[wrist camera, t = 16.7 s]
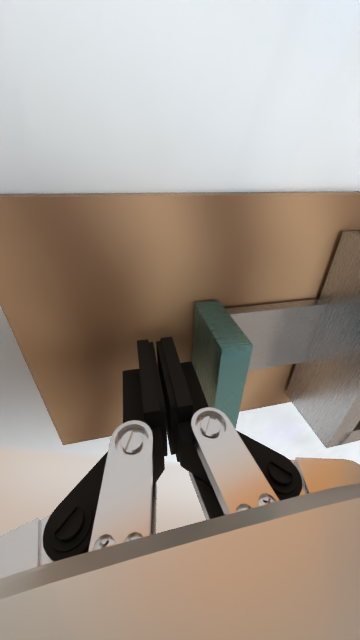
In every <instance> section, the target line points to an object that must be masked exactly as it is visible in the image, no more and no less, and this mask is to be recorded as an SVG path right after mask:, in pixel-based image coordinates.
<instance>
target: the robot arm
mask: <svg viewBox="0 0 360 640" xmlns="http://www.w3.org/2000/svg"><path fill="white" fill-rule="evenodd" d="M156 345H157V360H156V355H155V349H154V344H153V342H149V341H148V339H146V340H137V350H138V360H139V369H132V370H125V371H123V424H121V425H120V426H119V427H118V428H116V430H115V431H114V433H113V434H112V437H111V440H110V444H109V449H108V452H107V453H106V454H105V455H104V456H103V457H102V458H101V459H100V461H99V462H98V463H97V464H96V465H95V466H94V467H93V468H92V469H91V470H90V471H89V473H88V474H87V475H86V476H85V477H84V478H83V479H82V480H81V481H80V482H79V484H78V485H77V486H76V487H75V488H74V489H73V490H72V491H71V492H70V493H69V494H68V496H67V497H66V498H65V499H64V500H63V501H62V502H61V503H60V504H59V505H58V507H57V508H56V509H55V510H54V512H53V513H52V514H51V515H49V516H47V517H45V518H43V519H41V520H40V519H39V518H36V519H34V520H32V521H30V522H28V523H26V524H24V525H22V526H20V527H18V528H16V529H13V530H11V531H9V532H7V533H5V534H3V535H1V536H0V640H360V465H359V464H357V463H355V462H353V461H350V460H345V459H321V458H296V459H295V460H289V459H287V458H286V457H285V456H283V455H281V454H279V453H277V452H275V451H274V450H272V449H270V448H268V447H266V446H264V445H262V444H260V443H259V442H257V441H255V440H253V439H251V438H249V437H247V436H246V435H244V434H242V433H240V432H238V431H236V430H235V428H234V426H233V425H232V423H231V422H230V420H229V418H228V417H227V416H226V415H225V413H223V412H222V411H220V410H218V409H216V408H210V407H209V406H208V404H207V401H206V398H205V396H204V393H203V390H202V388H201V385H200V382H199V380H198V377H197V374H196V372H195V369H194V366H193V364H192V362H183V363H180V360H179V357H178V354H177V351H176V347H175V344H174V341H173V338H172V337H163V338H160V341H156ZM157 364H158V365H157ZM167 435H168V440H169V446H170V451H171V455H173V454H176V457H177V462H180V465H181V466H182V467H183V468H185V469H186V470H188V471H189V475H190V477H191V481H192V483H193V486H194V488H195V491H196V494H197V497H198V499H199V502H200V504H201V507H202V510H203V512H204V515H205V518H206V521H202V522H198V523H194V524H191V525H187V526H183V527H179V528H176V529H172V530H168V531H164V532H161V533H157V534H156V500H157V498H156V497H157V480H158V478H159V477H160V475H161V474H162V472H163V471H164V469H165V468H164V456H167Z"/></svg>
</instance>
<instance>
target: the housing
mask: <svg viewBox="0 0 360 640" xmlns="http://www.w3.org/2000/svg"><path fill="white" fill-rule="evenodd" d="M192 364H193V366H194V369H195V372H196V374H197V377H198V380H199V382H200V385H201V388H202V390H203V393H204V396H205V398H206V401H207V404H208V406H209V407H210V408H216V409H218V410H220V411H222V412H223V413H225V415H226V416H227V417H228V418H229V420H230V422H231V423H232V425H233V426H234V428H236V424H237V419H238V414H239V410H240V405H241V401H242V396H243V391H244V387H245V382H246V377H247V373H248V371H251V370H258V369H264V368H270V367H277V366H283V365H289V364H296V365H295V368H294V371H293V374H292V377H291V380H290V382H289V385H288V388H287V391H286V395H287V396H288V398H289V399H290V400H291V402H292V403H293V404H294V406H295V407H296V408H297V410H298V411H299V412H300V414H301V415H302V416H303V418H304V419H305V420H306V422H307V423H308V424H309V426H310V427H311V428H312V430H313V431H314V432H315V434H316V435H317V436H318V438H319V439H320V440H321V442H322V443H323V444H324V446H325V447H326V448H329V447H333V446H337V445H342V444H346V443H350V442H354V441H358V440H360V231H343V233H342V236H341V239H340V242H339V245H338V247H337V250H336V253H335V256H334V259H333V261H332V264H331V267H330V270H329V273H328V276H327V278H326V281H325V284H324V287H323V290H322V292H321V295H320V298H319V299H314V300H304V301H294V302H284V303H275V304H265V305H255V306H245V307H236V308H226V309H225V308H224V307H223V305H222V304H221V303H220V301H219V300H217V301H207V302H196V303H195V309H194V331H193V352H192Z"/></svg>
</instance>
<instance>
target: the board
mask: <svg viewBox="0 0 360 640" xmlns="http://www.w3.org/2000/svg"><path fill="white" fill-rule="evenodd" d="M343 231H360V192H235V193H92V194H0V304H1V307H2V309H3V311H4V313H5V316H6V318H7V320H8V322H9V325H10V327H11V329H12V331H13V334H14V336H15V338H16V340H17V343H18V345H19V347H20V349H21V352H22V354H23V356H24V358H25V361H26V363H27V365H28V367H29V370H30V372H31V374H32V376H33V379H34V381H35V383H36V385H37V388H38V390H39V392H40V394H41V397H42V399H43V401H44V403H45V406H46V408H47V410H48V412H49V415H50V417H51V419H52V421H53V424H54V426H55V428H56V430H57V433H58V435H59V437H60V439H61V442H62V444H63V445H66V444H72V443H77V442H82V441H87V440H93V439H98V438H103V437H108V436H112V434H113V433H114V431H115V430H116V428H118V427H119V426H120V425H121V424H123V371H125V370H132V369H139V360H138V350H137V340H146V339H148V341H149V342H153V344H154V349H155V355H156V360H157V345H156V341H160V338H163V337H172V338H173V341H174V344H175V347H176V351H177V354H178V357H179V360H180V363H183V362H192V352H193V331H194V309H195V303H196V302H207V301H217V300H219V301H220V303H221V304H222V305H223V307H224V308H225V309H226V308H236V307H245V306H255V305H265V304H275V303H284V302H294V301H304V300H314V299H319V298H320V295H321V292H322V290H323V287H324V284H325V281H326V278H327V276H328V273H329V270H330V267H331V264H332V261H333V259H334V256H335V253H336V250H337V247H338V245H339V242H340V239H341V236H342V233H343ZM157 365H158V364H157ZM295 365H296V364H289V365H283V366H277V367H270V368H264V369H258V370H251V371H248V373H247V377H246V382H245V387H244V391H243V396H242V401H241V405H240V410H239V412H240V411H245V410H250V409H256V408H261V407H266V406H271V405H277V404H282V403H287V402H291V400H290V399H289V398H288V396H287V395H286V391H287V388H288V385H289V382H290V380H291V377H292V374H293V371H294V368H295Z"/></svg>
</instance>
